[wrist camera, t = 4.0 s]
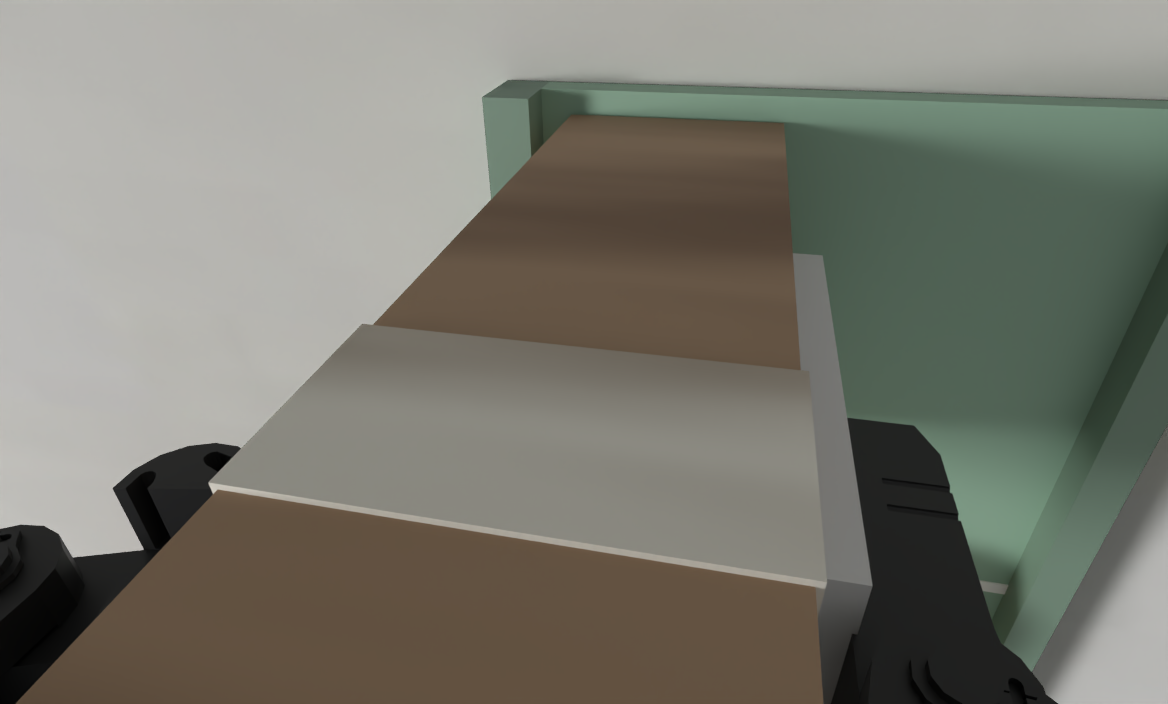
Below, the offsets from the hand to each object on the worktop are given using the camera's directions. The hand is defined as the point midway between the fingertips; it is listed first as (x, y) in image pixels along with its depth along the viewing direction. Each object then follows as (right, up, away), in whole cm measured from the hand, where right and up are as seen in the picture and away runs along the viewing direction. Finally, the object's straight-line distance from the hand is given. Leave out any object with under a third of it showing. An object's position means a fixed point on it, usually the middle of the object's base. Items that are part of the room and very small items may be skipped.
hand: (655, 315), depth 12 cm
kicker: (0, +1, +1) cm, 2 cm away
